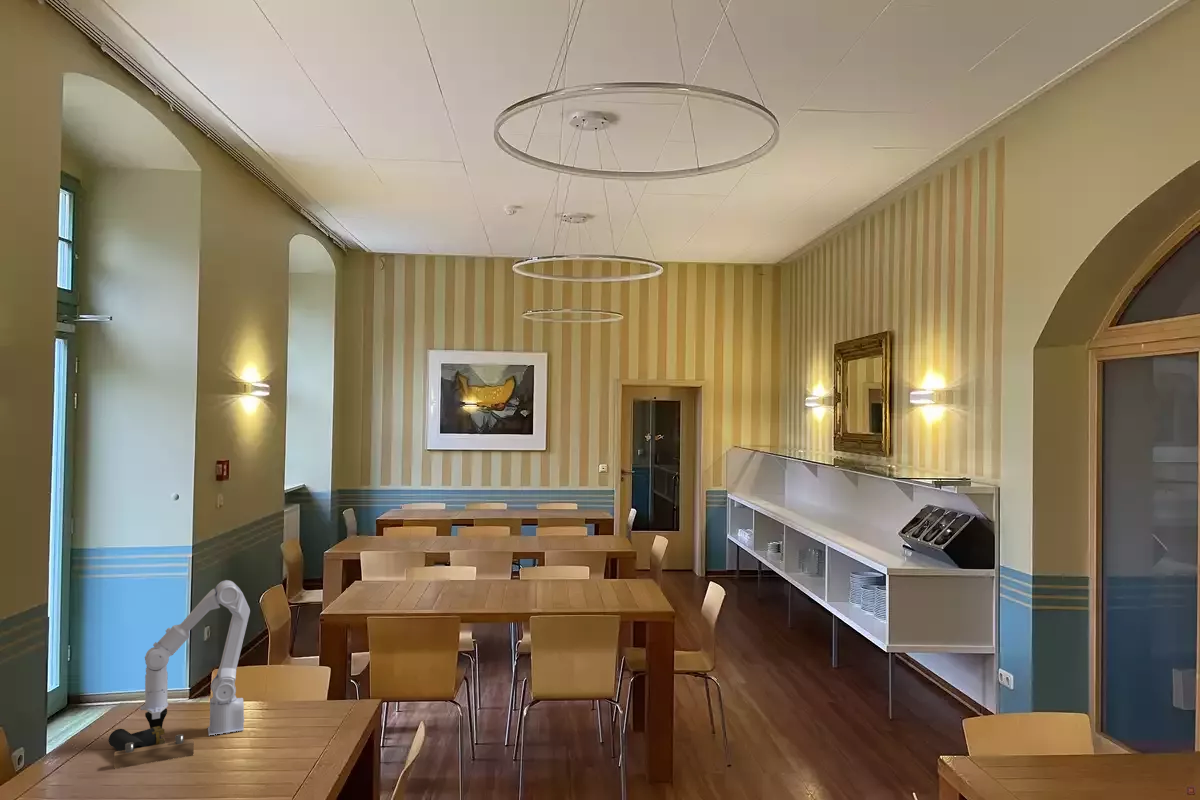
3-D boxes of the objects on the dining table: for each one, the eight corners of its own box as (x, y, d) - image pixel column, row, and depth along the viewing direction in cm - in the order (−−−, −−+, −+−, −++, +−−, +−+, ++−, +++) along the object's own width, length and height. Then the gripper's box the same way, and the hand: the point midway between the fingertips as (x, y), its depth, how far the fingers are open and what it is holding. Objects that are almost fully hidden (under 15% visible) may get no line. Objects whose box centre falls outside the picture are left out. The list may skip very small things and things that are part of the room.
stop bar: (193, 751, 229) (193, 731, 230) (193, 755, 227) (193, 735, 227) (114, 765, 220) (114, 744, 220) (114, 769, 218) (114, 748, 218)
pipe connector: (151, 719, 240) (171, 731, 230) (152, 737, 240) (172, 750, 230) (108, 731, 232) (127, 744, 222) (108, 750, 232) (127, 763, 222)
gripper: (141, 684, 242) (141, 730, 242) (139, 698, 229) (139, 747, 229) (168, 680, 246) (168, 726, 245) (168, 694, 233) (168, 742, 232)
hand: (156, 736), depth 237 cm, fingers closed, pressing on pipe connector
